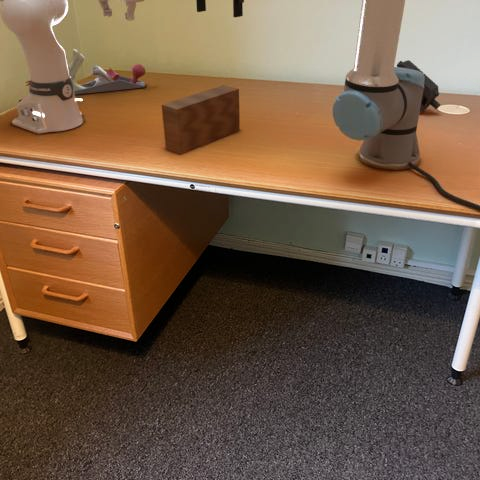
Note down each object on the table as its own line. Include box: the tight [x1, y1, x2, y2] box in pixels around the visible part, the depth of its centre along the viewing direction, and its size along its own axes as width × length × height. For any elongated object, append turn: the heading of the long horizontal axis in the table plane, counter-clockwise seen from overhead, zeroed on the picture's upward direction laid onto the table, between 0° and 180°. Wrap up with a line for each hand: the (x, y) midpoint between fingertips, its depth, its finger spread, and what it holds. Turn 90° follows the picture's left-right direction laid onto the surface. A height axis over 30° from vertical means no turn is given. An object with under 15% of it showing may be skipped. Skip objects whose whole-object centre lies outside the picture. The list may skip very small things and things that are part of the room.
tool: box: [396, 59, 442, 114], centre depth 170 cm, size 6×19×15 cm, turn 51°
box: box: [161, 84, 241, 155], centre depth 150 cm, size 24×6×12 cm, turn 137°
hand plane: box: [68, 48, 146, 95], centre depth 194 cm, size 7×31×15 cm, turn 107°
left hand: (118, 18), depth 138 cm, fingers open, 8 cm apart
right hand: (219, 14), depth 141 cm, fingers open, 13 cm apart
